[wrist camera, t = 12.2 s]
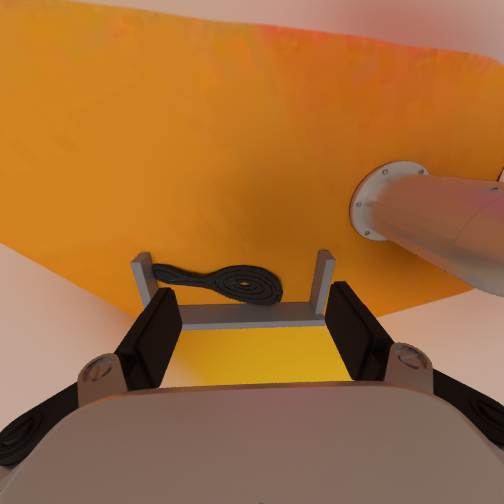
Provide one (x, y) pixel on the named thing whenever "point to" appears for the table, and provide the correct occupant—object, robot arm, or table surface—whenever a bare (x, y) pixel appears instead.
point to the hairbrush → (229, 282)
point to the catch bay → (245, 313)
